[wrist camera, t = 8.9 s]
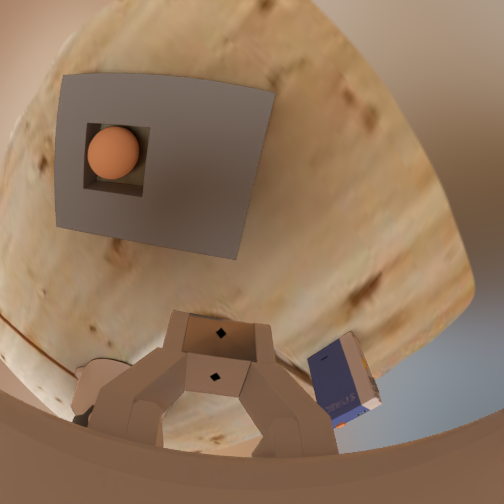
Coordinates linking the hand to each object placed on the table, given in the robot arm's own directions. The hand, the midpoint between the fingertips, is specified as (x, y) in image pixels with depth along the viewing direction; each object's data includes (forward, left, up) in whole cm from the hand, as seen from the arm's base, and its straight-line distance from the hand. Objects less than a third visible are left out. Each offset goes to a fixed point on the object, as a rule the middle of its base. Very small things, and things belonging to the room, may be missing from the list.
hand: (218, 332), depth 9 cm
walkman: (-22, -19, -21) cm, 36 cm away
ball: (+1, +11, -18) cm, 22 cm away
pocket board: (0, +8, -21) cm, 22 cm away
